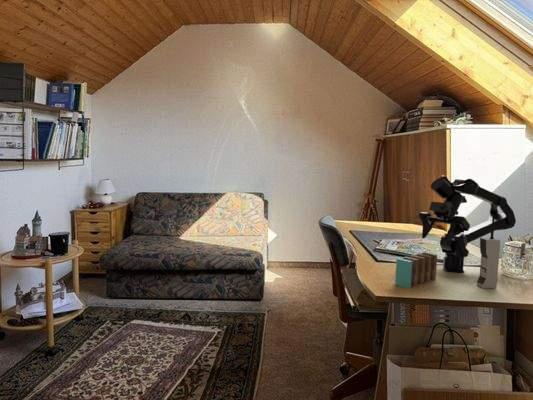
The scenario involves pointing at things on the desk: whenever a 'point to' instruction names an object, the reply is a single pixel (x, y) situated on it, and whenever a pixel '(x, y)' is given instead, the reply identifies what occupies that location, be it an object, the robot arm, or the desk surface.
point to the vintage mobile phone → (489, 260)
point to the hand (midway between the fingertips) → (433, 239)
